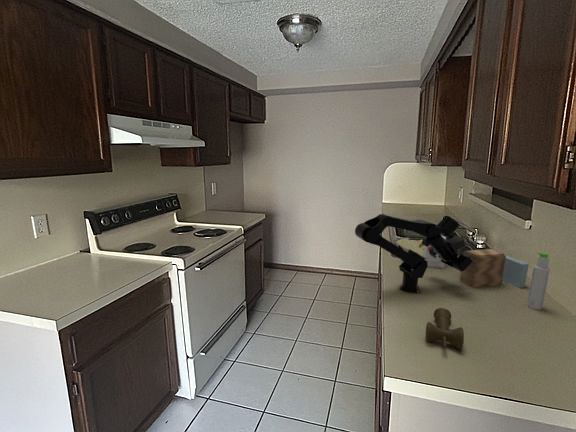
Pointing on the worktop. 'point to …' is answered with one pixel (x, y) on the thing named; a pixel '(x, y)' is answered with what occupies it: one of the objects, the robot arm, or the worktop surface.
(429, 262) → the supplement box
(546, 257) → the bottle
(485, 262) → the walnut box
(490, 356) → the worktop surface
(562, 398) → the worktop surface
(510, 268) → the board
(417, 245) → the cheese
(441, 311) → the kendama
